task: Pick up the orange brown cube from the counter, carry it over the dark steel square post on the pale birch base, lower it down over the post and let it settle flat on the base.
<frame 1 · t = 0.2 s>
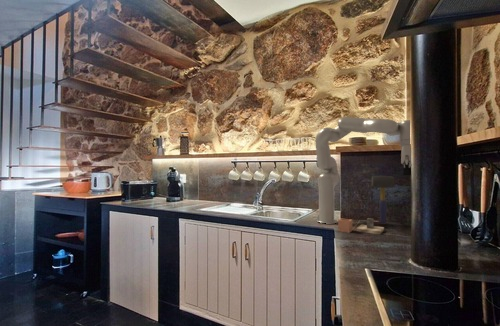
hand: (407, 175, 140), 31 cm above the countertop, tool pointing down, fingers open, 9 cm apart
orange brown cube: (345, 230, 143), on the countertop
rubber mallet: (382, 224, 161), on the countertop
post base: (370, 230, 144), on the countertop
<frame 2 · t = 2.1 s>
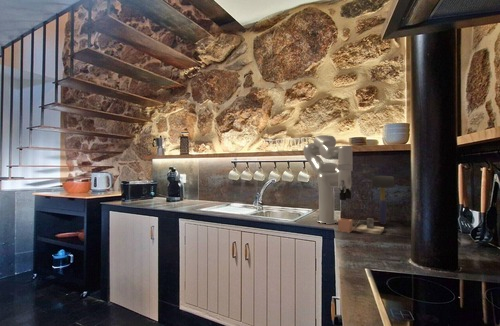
hand: (345, 199, 143), 17 cm above the countertop, tool pointing down, fingers open, 9 cm apart
nothing on the countertop moved.
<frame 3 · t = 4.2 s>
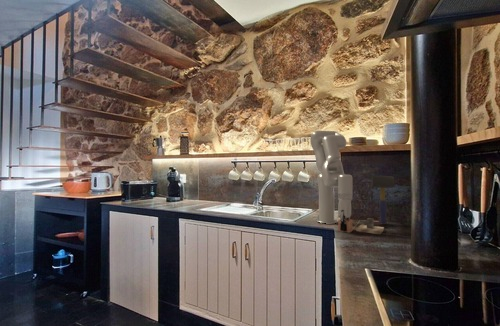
hand: (345, 229, 143), 1 cm above the countertop, tool pointing down, fingers closed on orange brown cube, 6 cm apart
orange brown cube: (345, 230, 143), on the countertop, touching gripper
everything else where it was.
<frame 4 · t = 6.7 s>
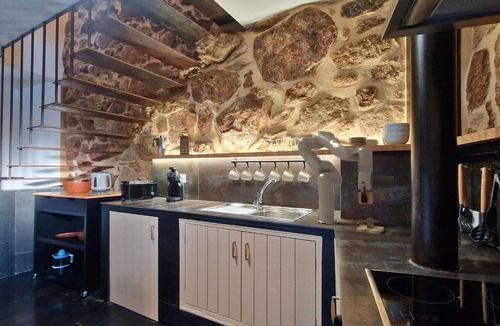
hand: (365, 201, 144), 16 cm above the countertop, tool pointing down, fingers closed on orange brown cube, 6 cm apart
orange brown cube: (365, 203, 144), point 15 cm above the countertop, touching gripper
everything else where it was.
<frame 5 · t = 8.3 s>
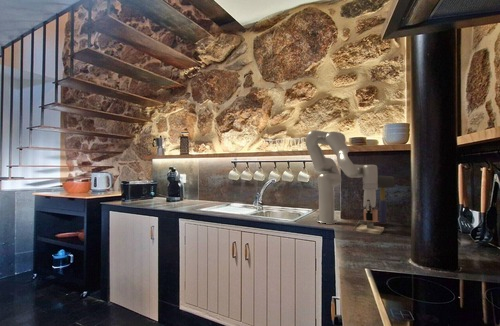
hand: (370, 219, 144), 6 cm above the countertop, tool pointing down, fingers closed on orange brown cube, 6 cm apart
orange brown cube: (370, 220, 144), point 6 cm above the countertop, touching gripper
everything else where it was.
when the fingers open (3 cm above the countertop, at t = 9.7 s): orange brown cube drops 1 cm, resting on post base.
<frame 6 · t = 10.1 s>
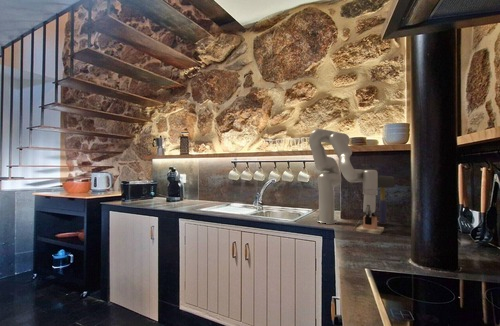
hand: (370, 222, 144), 4 cm above the countertop, tool pointing down, fingers open, 9 cm apart
orange brown cube: (370, 227, 144), point 1 cm above the countertop, touching post base
everything else where it was.
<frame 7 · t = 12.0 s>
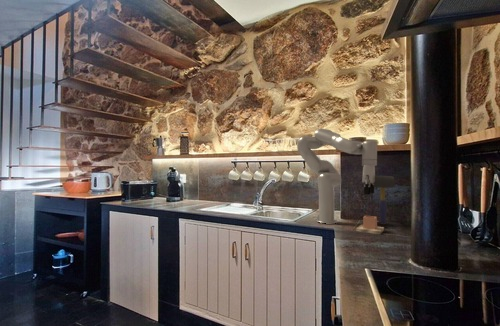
hand: (369, 193, 145), 20 cm above the countertop, tool pointing down, fingers open, 9 cm apart
nothing on the countertop moved.
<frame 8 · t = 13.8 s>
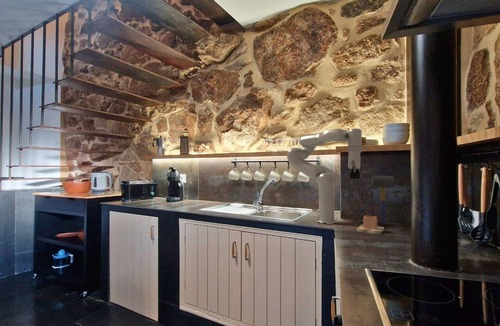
hand: (354, 178, 153), 28 cm above the countertop, tool pointing down, fingers open, 9 cm apart
nothing on the countertop moved.
at the end: orange brown cube 0.0 cm off-centre on the post base, point 1.5 cm above the post base's base; orange brown cube tilted 0°; the gripper is holding nothing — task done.
